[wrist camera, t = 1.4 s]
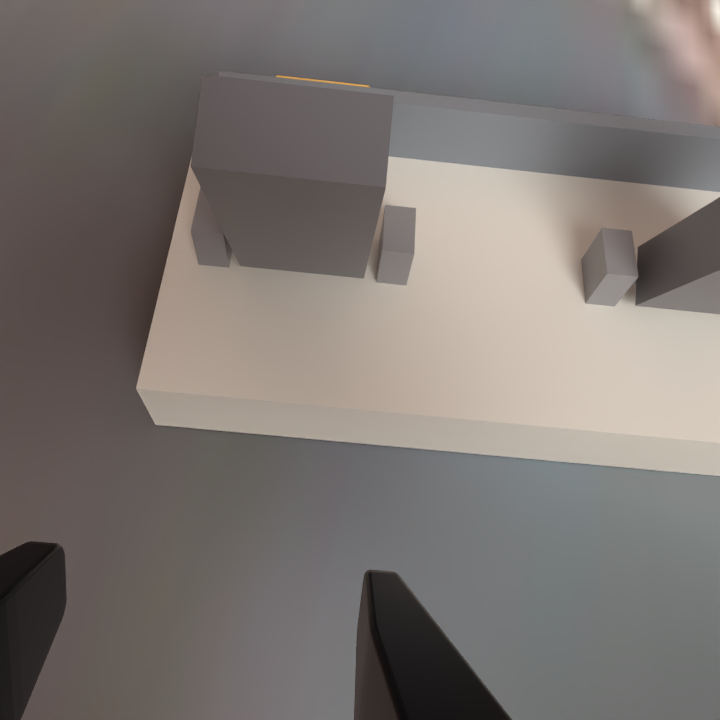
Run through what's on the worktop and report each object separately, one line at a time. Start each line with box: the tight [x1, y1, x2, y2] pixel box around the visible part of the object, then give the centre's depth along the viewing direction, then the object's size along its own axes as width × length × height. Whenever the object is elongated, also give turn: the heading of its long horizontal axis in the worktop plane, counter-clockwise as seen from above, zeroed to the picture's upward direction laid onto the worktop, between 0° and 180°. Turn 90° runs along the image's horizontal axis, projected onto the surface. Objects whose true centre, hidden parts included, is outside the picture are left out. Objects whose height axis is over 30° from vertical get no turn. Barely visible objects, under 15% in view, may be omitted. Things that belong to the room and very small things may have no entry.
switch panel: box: [136, 71, 720, 476], centre depth 23 cm, size 11×22×6 cm, turn 86°
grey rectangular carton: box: [191, 74, 394, 279], centre depth 18 cm, size 2×4×8 cm, turn 86°
